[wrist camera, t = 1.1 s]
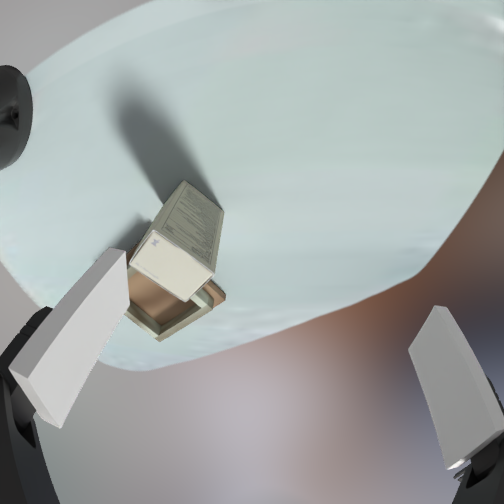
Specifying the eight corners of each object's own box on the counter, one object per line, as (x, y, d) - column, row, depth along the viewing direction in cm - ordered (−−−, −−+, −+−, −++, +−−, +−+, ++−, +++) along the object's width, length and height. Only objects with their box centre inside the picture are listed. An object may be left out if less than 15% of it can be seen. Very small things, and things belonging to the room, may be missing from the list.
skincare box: (162, 205, 33) (124, 263, 23) (185, 177, 32) (151, 226, 21) (204, 237, 35) (184, 305, 25) (228, 212, 34) (216, 275, 23)
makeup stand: (101, 279, 39) (92, 293, 36) (154, 227, 35) (146, 240, 32) (165, 333, 44) (160, 348, 41) (225, 294, 40) (223, 310, 37)
